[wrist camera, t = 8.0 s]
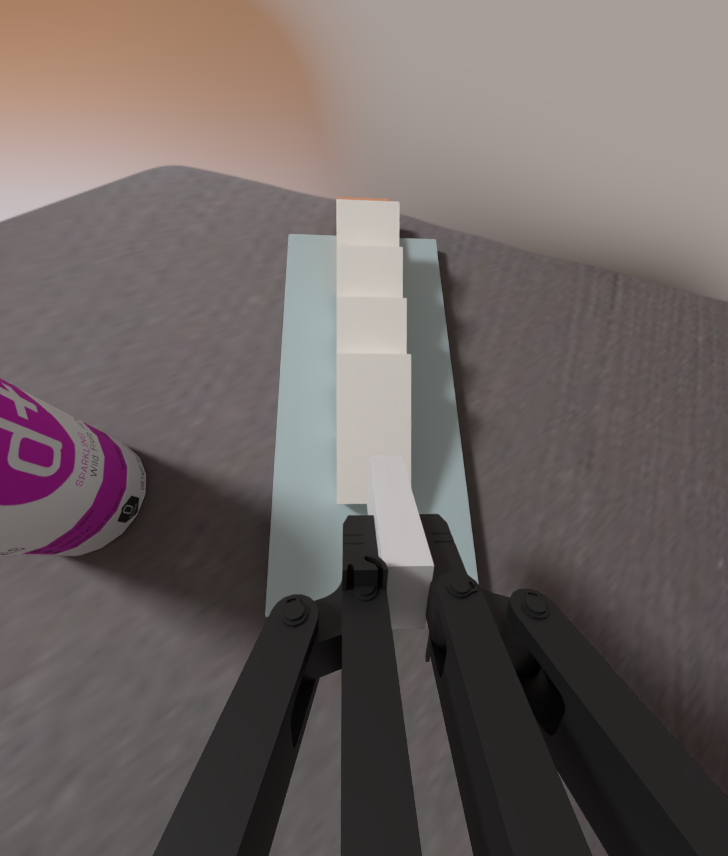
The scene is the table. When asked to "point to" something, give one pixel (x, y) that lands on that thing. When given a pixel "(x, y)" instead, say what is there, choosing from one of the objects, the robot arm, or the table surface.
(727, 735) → the table surface
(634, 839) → the robot arm
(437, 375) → the domino board
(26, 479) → the supplement can
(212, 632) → the table surface
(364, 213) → the domino
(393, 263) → the domino
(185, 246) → the table surface
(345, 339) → the domino
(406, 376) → the domino
